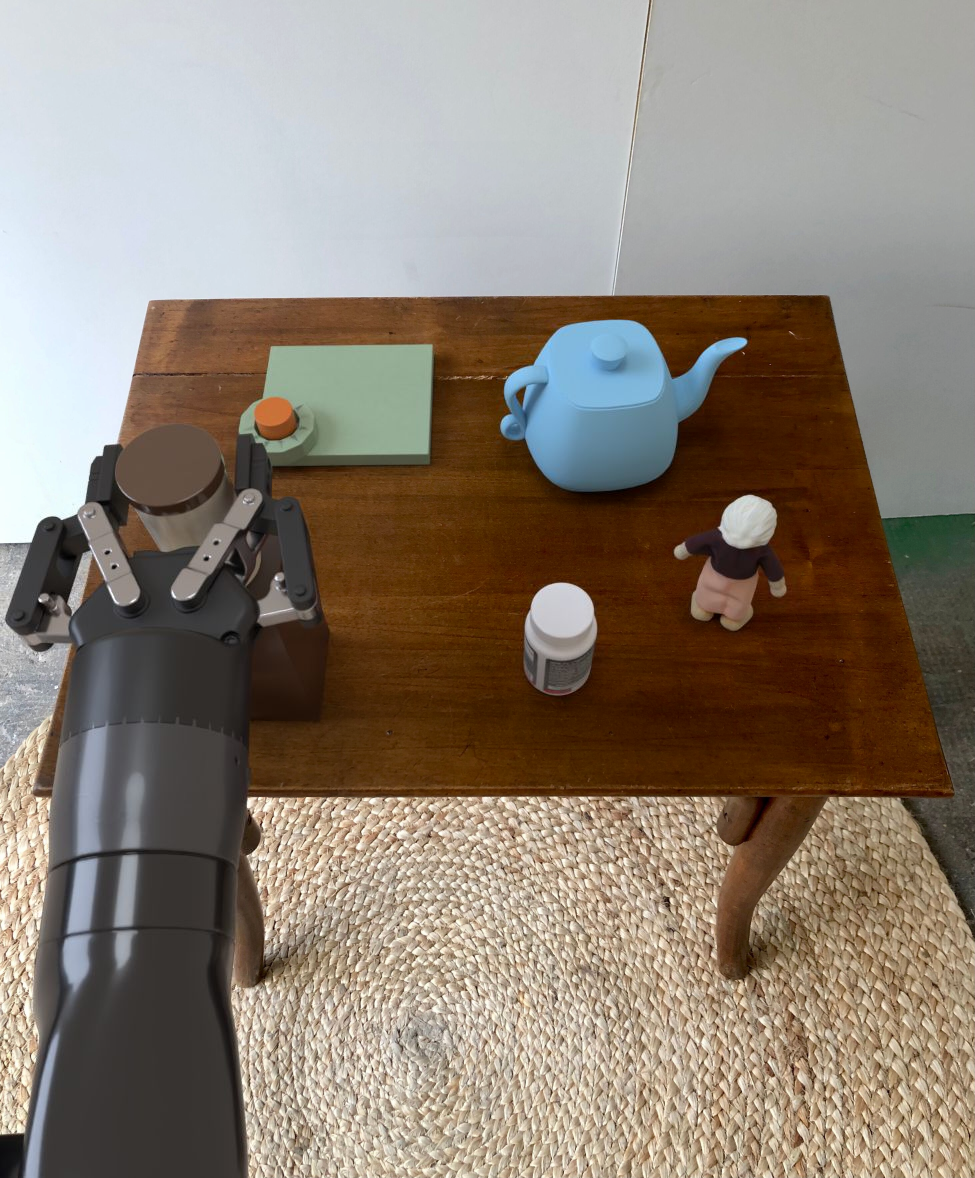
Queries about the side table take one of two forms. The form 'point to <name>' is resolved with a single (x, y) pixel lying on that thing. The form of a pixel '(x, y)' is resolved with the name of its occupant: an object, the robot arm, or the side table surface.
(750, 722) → the side table surface
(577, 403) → the teapot
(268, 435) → the tare button
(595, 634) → the pill bottle
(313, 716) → the stand
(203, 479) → the spice jar
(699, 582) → the grandmother figurine
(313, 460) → the scale
